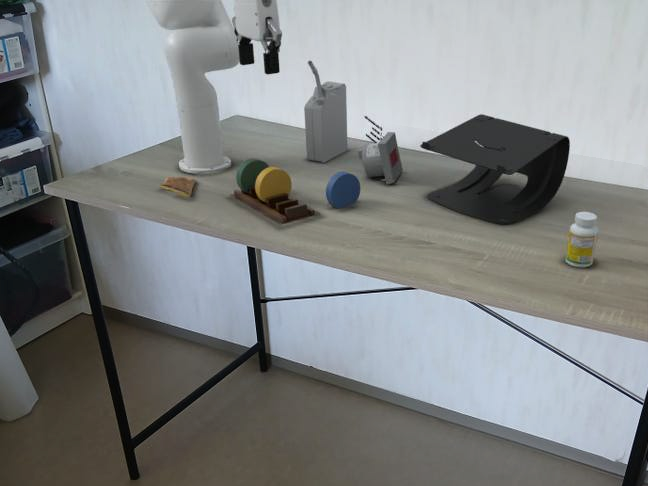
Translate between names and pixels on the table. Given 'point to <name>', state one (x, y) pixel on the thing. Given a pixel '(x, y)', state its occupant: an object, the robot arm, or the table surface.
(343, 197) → the blue disc
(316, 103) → the gas can
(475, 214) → the laptop stand
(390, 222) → the table surface
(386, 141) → the voltmeter
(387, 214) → the table surface
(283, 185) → the mustard disc
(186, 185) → the shard
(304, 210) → the disc rack
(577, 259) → the supplement bottle
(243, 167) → the green disc
